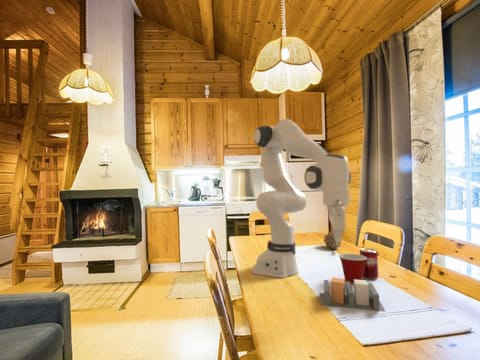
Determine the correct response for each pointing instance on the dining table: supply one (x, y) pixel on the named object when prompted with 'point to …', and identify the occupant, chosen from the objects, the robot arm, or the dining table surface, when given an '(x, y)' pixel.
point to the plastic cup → (352, 266)
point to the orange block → (338, 290)
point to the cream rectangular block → (361, 292)
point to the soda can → (370, 263)
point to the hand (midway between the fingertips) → (337, 238)
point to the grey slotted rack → (351, 298)
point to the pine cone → (331, 241)
